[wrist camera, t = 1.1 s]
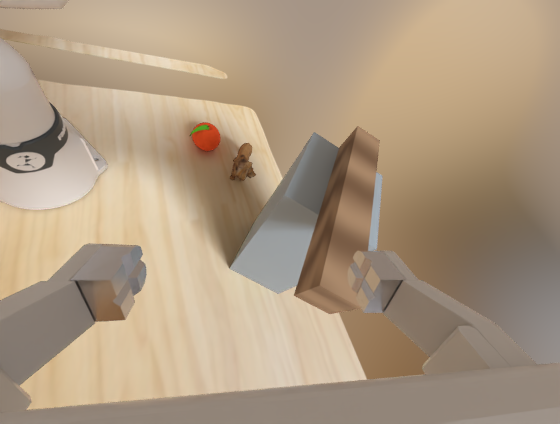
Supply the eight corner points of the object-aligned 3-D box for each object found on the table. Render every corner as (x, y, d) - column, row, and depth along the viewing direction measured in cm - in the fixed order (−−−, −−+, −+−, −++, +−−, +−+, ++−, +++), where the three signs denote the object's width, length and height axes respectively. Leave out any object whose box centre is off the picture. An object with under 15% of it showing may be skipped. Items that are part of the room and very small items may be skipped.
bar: (329, 314, 18) (361, 308, 15) (293, 295, 18) (319, 285, 15) (358, 160, 31) (379, 140, 28) (339, 148, 31) (357, 125, 28)
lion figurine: (248, 193, 57) (258, 172, 50) (228, 189, 55) (236, 167, 48) (249, 152, 64) (258, 129, 57) (231, 148, 62) (238, 123, 55)
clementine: (194, 159, 55) (197, 139, 50) (182, 139, 57) (183, 117, 51) (222, 153, 60) (227, 134, 54) (210, 135, 61) (214, 114, 56)
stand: (278, 293, 47) (376, 249, 24) (229, 268, 46) (284, 194, 23) (295, 245, 55) (382, 175, 32) (254, 221, 53) (314, 132, 30)
